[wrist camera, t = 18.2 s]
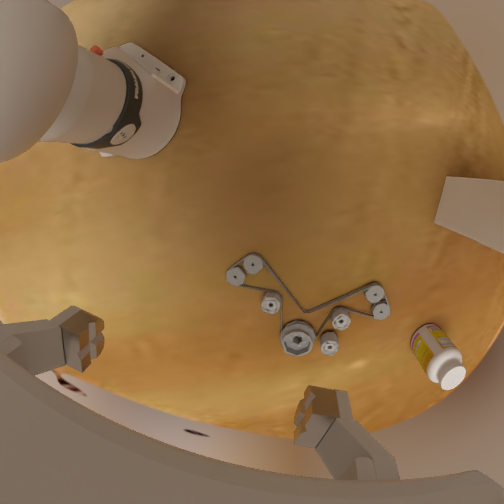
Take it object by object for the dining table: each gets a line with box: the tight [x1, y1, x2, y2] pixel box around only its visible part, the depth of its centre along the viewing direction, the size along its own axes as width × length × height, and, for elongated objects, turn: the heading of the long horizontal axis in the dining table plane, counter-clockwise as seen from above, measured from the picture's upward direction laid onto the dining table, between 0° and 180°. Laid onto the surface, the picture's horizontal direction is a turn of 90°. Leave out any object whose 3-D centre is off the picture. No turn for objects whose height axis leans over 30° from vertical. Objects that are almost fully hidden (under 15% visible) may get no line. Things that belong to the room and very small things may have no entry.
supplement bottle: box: [411, 324, 466, 390], centre depth 39 cm, size 7×7×13 cm
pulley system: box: [226, 253, 390, 357], centre depth 46 cm, size 27×5×15 cm
